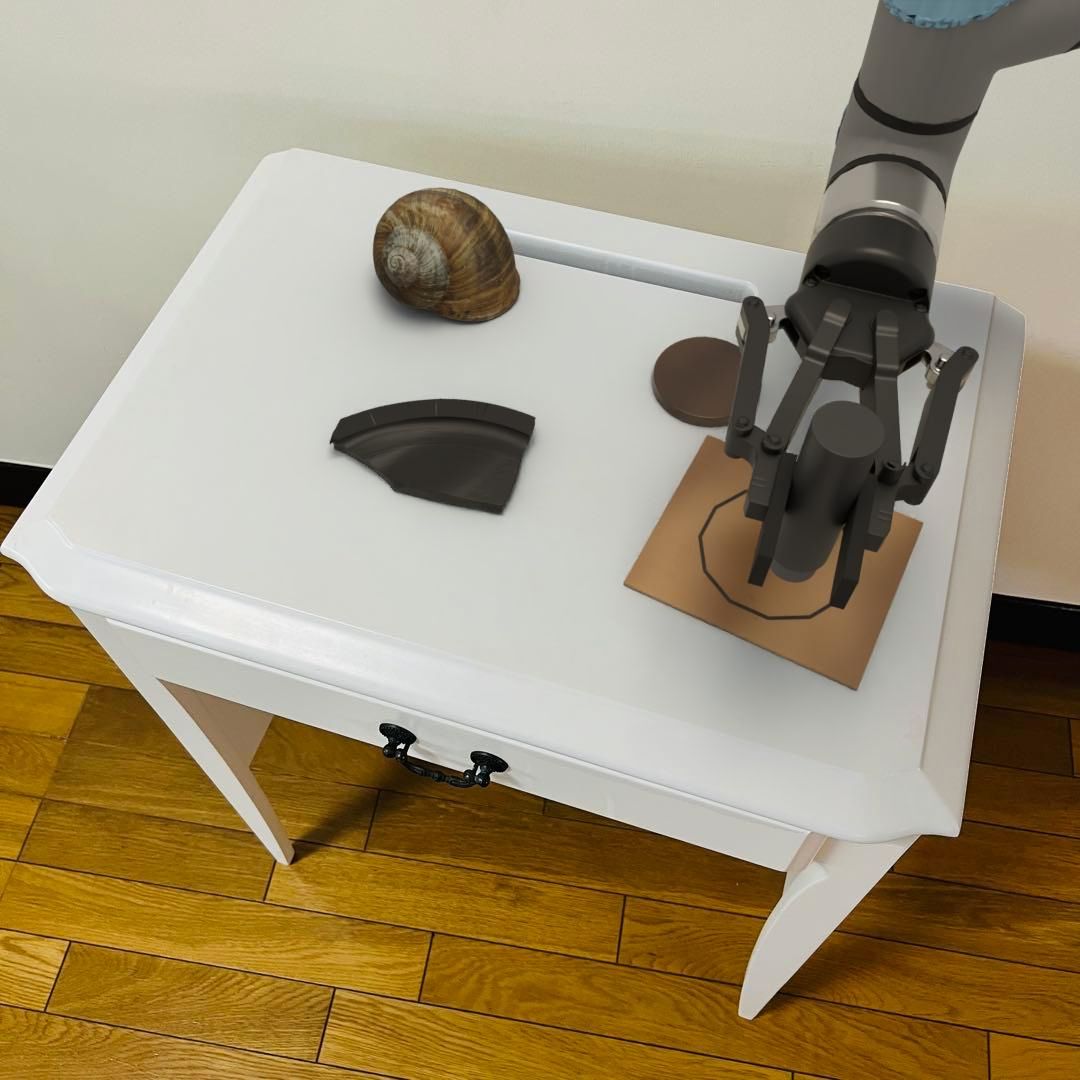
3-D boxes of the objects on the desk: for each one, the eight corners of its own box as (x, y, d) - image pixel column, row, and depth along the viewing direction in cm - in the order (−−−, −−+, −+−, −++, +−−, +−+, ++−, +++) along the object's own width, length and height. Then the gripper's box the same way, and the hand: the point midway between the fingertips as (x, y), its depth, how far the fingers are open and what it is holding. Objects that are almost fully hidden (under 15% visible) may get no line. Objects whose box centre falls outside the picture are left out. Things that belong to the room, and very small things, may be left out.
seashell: (358, 311, 82) (343, 230, 75) (406, 234, 86) (396, 152, 80) (493, 347, 80) (490, 268, 73) (534, 267, 84) (535, 185, 78)
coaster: (775, 368, 79) (777, 359, 78) (735, 442, 75) (737, 433, 74) (678, 331, 81) (679, 322, 80) (634, 401, 77) (635, 392, 76)
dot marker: (831, 551, 59) (894, 416, 49) (810, 597, 58) (871, 468, 47) (774, 527, 60) (825, 390, 50) (752, 572, 58) (801, 439, 48)
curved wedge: (363, 386, 78) (360, 371, 76) (539, 428, 76) (539, 413, 74) (319, 472, 73) (315, 458, 72) (504, 519, 71) (503, 506, 70)
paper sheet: (922, 524, 71) (924, 521, 71) (856, 690, 65) (858, 688, 64) (706, 437, 75) (707, 433, 75) (623, 584, 69) (623, 582, 68)
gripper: (987, 336, 64) (946, 664, 52) (726, 276, 67) (630, 575, 55) (1037, 242, 58) (1005, 590, 46) (747, 179, 61) (644, 494, 49)
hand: (801, 581), depth 50 cm, fingers closed on dot marker, 3 cm apart
